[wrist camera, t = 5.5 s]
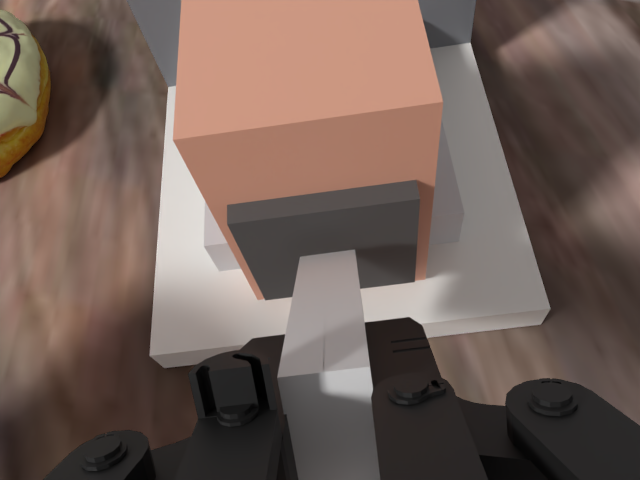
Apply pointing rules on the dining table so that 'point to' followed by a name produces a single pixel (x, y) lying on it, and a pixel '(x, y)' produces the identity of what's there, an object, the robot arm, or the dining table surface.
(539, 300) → the stand
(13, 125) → the decorated donut
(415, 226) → the plug block
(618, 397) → the dining table surface
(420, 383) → the robot arm
